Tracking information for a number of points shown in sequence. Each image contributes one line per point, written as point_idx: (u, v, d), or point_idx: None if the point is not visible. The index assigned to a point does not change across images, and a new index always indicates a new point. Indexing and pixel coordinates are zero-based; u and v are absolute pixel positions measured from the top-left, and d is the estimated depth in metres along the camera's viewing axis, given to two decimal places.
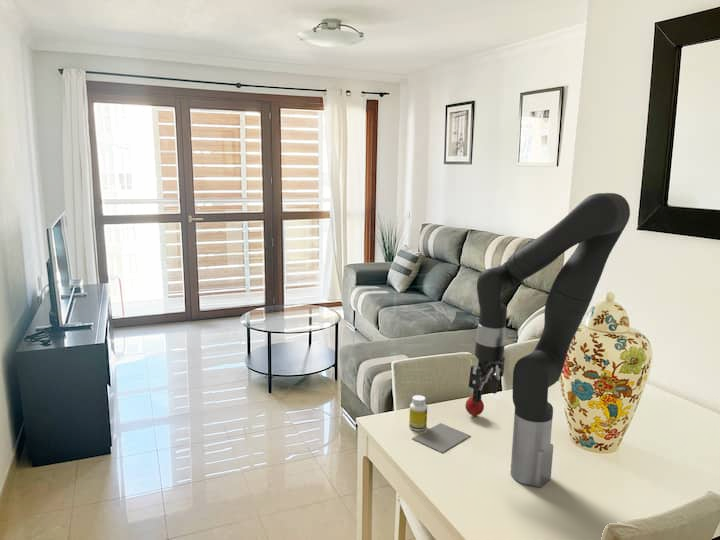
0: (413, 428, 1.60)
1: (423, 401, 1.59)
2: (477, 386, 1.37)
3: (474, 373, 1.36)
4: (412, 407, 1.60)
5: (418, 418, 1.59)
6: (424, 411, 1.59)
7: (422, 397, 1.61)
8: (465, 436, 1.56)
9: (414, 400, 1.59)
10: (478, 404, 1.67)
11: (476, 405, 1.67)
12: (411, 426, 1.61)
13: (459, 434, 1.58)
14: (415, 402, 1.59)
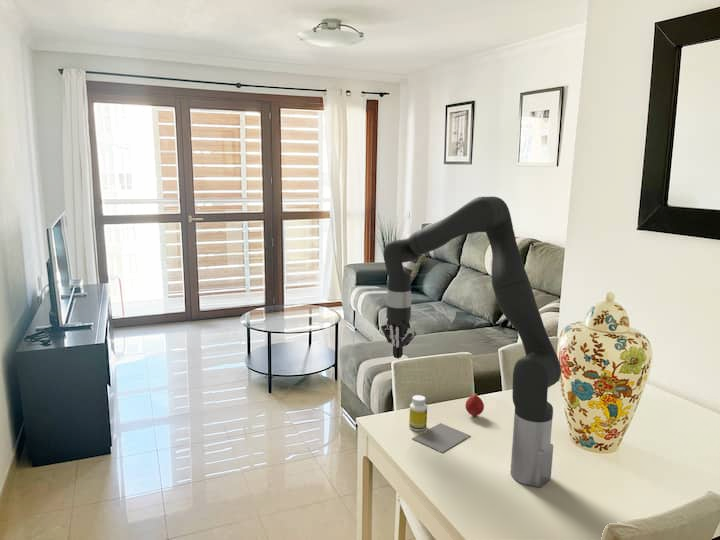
0: (413, 428, 1.60)
1: (423, 401, 1.59)
2: None
3: (411, 338, 1.60)
4: (412, 407, 1.60)
5: (418, 418, 1.59)
6: (424, 411, 1.59)
7: (422, 397, 1.61)
8: (465, 436, 1.56)
9: (414, 400, 1.59)
10: (478, 404, 1.67)
11: (476, 405, 1.67)
12: (411, 426, 1.61)
13: (459, 434, 1.58)
14: (415, 402, 1.59)
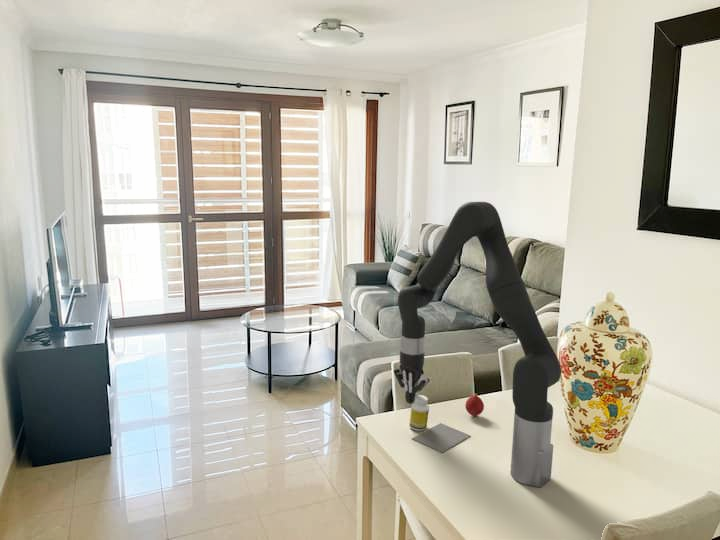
0: (413, 427, 1.60)
1: (425, 402, 1.59)
2: None
3: (424, 384, 1.58)
4: (414, 407, 1.59)
5: (419, 419, 1.59)
6: (426, 412, 1.59)
7: (424, 397, 1.60)
8: (465, 436, 1.56)
9: (416, 400, 1.59)
10: (478, 404, 1.67)
11: (476, 405, 1.67)
12: (411, 425, 1.60)
13: (459, 434, 1.58)
14: (417, 402, 1.59)
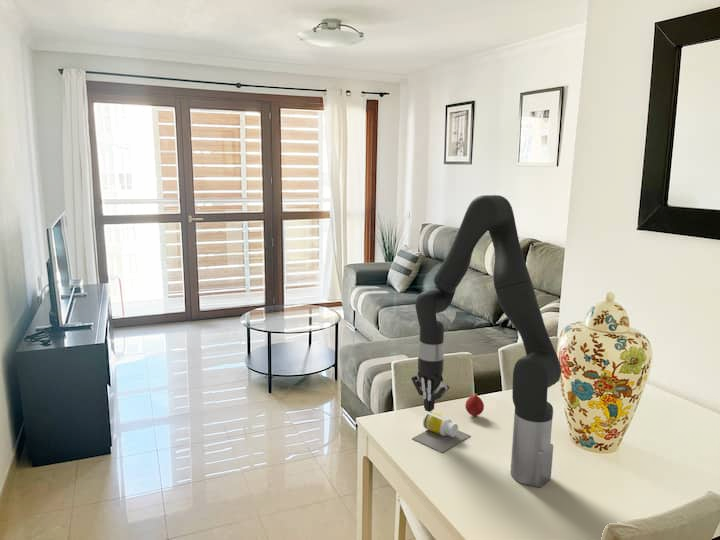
0: (424, 419, 1.59)
1: None
2: None
3: (444, 391, 1.53)
4: (443, 424, 1.55)
5: (433, 428, 1.56)
6: None
7: (455, 433, 1.55)
8: (465, 436, 1.56)
9: (450, 428, 1.53)
10: (478, 404, 1.67)
11: (476, 405, 1.67)
12: (426, 417, 1.59)
13: (459, 434, 1.58)
14: (448, 428, 1.54)
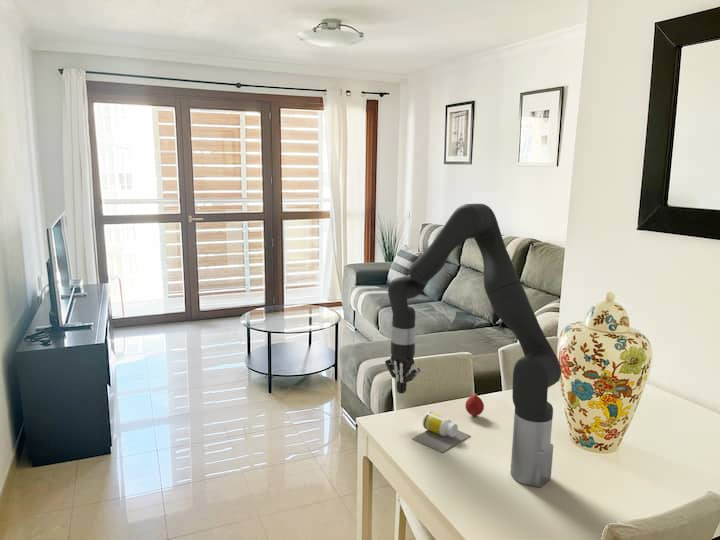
0: (424, 420, 1.59)
1: (450, 436, 1.54)
2: None
3: (415, 374, 1.60)
4: (443, 424, 1.54)
5: (433, 428, 1.56)
6: (441, 435, 1.56)
7: (455, 433, 1.55)
8: (465, 436, 1.56)
9: (450, 428, 1.53)
10: (478, 404, 1.67)
11: (476, 405, 1.67)
12: (426, 418, 1.58)
13: (459, 434, 1.58)
14: (448, 429, 1.53)
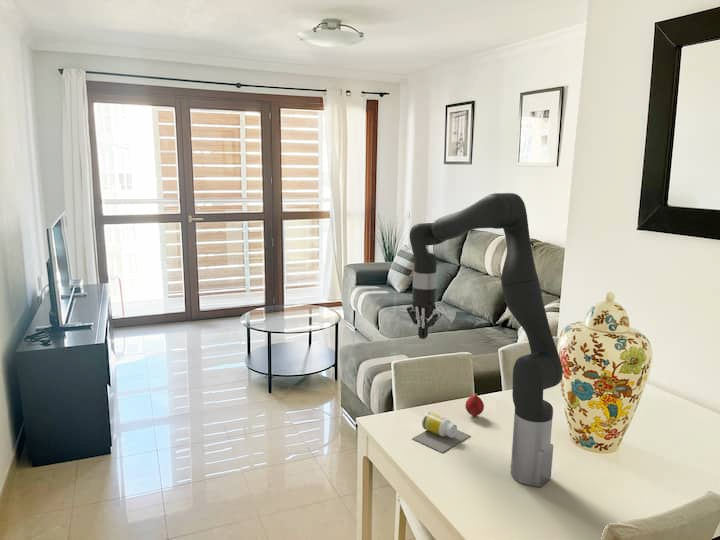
0: (423, 422, 1.58)
1: None
2: None
3: (437, 318, 1.65)
4: (442, 426, 1.54)
5: (432, 430, 1.56)
6: None
7: (454, 433, 1.55)
8: (465, 436, 1.56)
9: (449, 430, 1.53)
10: (478, 404, 1.67)
11: (476, 405, 1.67)
12: (425, 419, 1.58)
13: (459, 434, 1.58)
14: (447, 430, 1.53)
